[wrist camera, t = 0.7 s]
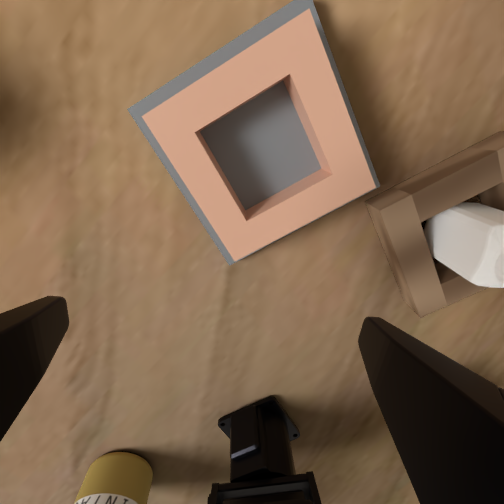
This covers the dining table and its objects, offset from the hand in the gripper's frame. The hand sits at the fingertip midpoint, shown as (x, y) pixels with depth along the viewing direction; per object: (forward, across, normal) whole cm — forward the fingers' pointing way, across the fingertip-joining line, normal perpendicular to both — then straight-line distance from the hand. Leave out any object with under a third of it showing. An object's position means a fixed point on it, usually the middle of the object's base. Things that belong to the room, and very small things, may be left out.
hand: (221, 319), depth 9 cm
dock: (+14, -2, -4) cm, 14 cm away
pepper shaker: (+14, -17, 0) cm, 22 cm away
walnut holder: (+14, -17, 0) cm, 22 cm away
